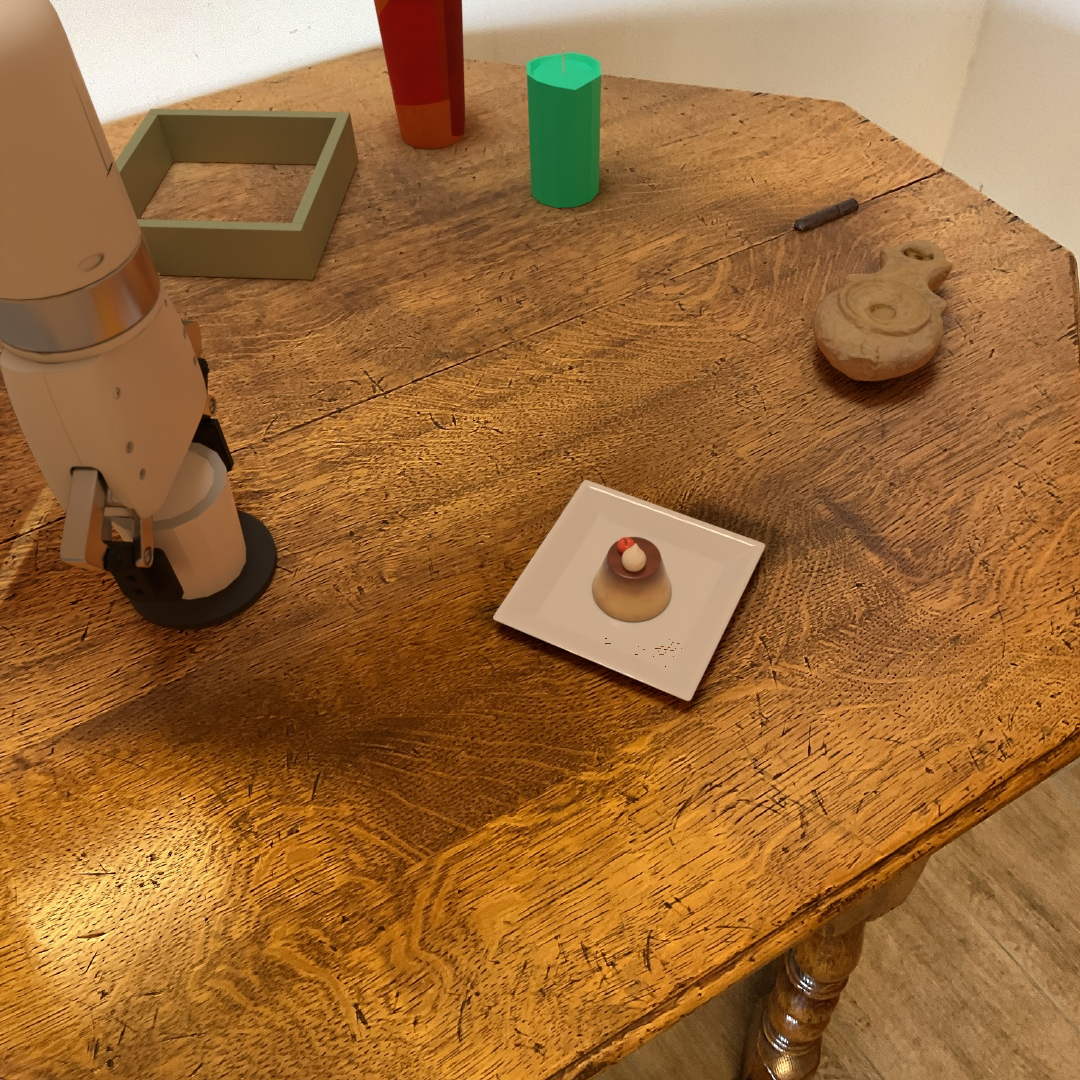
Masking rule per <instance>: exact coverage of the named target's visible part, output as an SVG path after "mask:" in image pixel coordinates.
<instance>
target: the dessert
mask: <svg viewBox="0 0 1080 1080" xmlns="http://www.w3.org/2000/svg"><path fill="white" fill-rule="evenodd" d="M765 548H766V544H765V543H764V542H761V541H758V540H755V539H753V538H750V537H748V536H744V535H742V534H738V533H737V532H734V531H730V530H727V529H725V528H722V527H719V526H717V525H714V524H711V523H709V522H705V521H703V520H699V519H697V518H694V517H692V516H689V515H687V514H683V513H680V512H677V511H674V510H672V509H670V508H666V507H664V506H660V505H658V504H655V503H653V502H650V501H647V500H644V499H641V498H639V497H636V496H633V495H631V494H627V493H626V492H621V491H619V490H616V489H614V488H611V487H608V486H606V485H602V484H600V483H597V482H594V481H591V480H589V479H584V480H583V481H582V482H581V484H580V486H579V487H578V488H577V490H576V491H575V493H574V494H573V495H572V498H571V499H570V500H569V502H568V504H567V505H566V506H565V508H564V509H563V511H562V512H561V514H560V515H559V516H558V518H557V520H556V521H555V523H554V524H553V526H552V527H551V529H550V530H549V532H548V534H547V535H546V536H545V538H544V539H543V541H542V542H541V544H540V545H539V546H538V548H537V550H536V552H534V554H533V556H532V557H531V559H530V560H529V562H528V564H527V565H526V566H525V568H524V569H523V571H522V572H521V574H520V576H519V577H518V578H517V580H516V582H515V583H514V585H513V586H512V587H511V588H510V590H509V592H508V594H507V595H506V597H505V598H504V600H503V601H502V603H500V606H499V607H498V609H497V610H496V612H495V613H494V615H493V616H492V619H493V620H494V621H496V622H498V623H501V624H503V625H506V626H508V627H511V628H513V629H515V630H517V631H520V632H522V633H525V634H527V635H529V636H532V637H534V638H536V639H539V640H541V641H544V642H545V643H549V644H550V645H553V646H556V647H558V648H559V649H563V650H565V651H568V652H570V653H572V654H574V655H576V656H580V657H582V658H584V659H586V660H588V661H591V662H594V663H596V664H597V665H601V666H603V667H605V668H608V669H610V670H613V671H615V672H618V673H619V674H622V675H624V676H626V677H629V678H631V679H634V680H637V681H639V682H641V683H643V684H646V685H648V686H651V687H653V688H655V689H657V690H659V691H660V690H661V691H662V692H664V693H667V694H669V695H672V696H675V697H676V698H679V699H682V700H684V701H686V702H690V701H691V700H692V699H693V696H694V694H695V692H696V690H697V688H698V687H699V684H700V682H701V680H702V678H703V676H704V674H705V671H706V670H707V668H708V665H709V664H710V662H711V659H712V658H713V655H714V653H715V651H716V649H717V648H718V645H719V643H720V641H721V639H722V636H723V635H724V632H725V631H726V628H727V626H728V624H729V623H730V620H731V618H732V616H733V614H734V612H735V609H736V608H737V606H738V604H739V602H740V599H741V597H742V595H743V593H744V591H745V589H746V587H747V585H748V583H749V581H750V579H751V577H752V576H753V572H754V571H755V569H756V566H757V564H758V563H759V561H760V559H761V557H762V554H763V552H764V550H765ZM605 638H607V639H605ZM669 639H670V640H669ZM672 642H674V643H672ZM605 643H611V644H605ZM677 643H680V644H677ZM671 644H672V645H671ZM638 646H639V647H638ZM661 646H664V647H661ZM668 647H670V648H668ZM655 648H661V649H655ZM675 648H676V649H675ZM681 648H682V649H681ZM643 649H645V650H643ZM664 649H668V650H664ZM670 650H674V651H670ZM658 651H659V652H658ZM665 652H666V653H665ZM635 654H638V655H635ZM659 654H664V655H659ZM653 656H654V657H653ZM673 656H674V657H673ZM665 666H666V667H665Z"/></svg>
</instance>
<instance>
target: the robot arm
mask: <svg viewBox="0 0 1080 1080" xmlns="http://www.w3.org/2000/svg"><path fill="white" fill-rule="evenodd" d="M68 37H69V36H68V34H67V32H66V30H65V27H64V25H63V23H62V21H61V19H60V16H59V14H58V12H57V10H56V8H55V6H54V5H53V4H52V2H51V1H50V0H0V345H1V346H2V350H1V353H0V370H1V376H2V378H3V382H4V385H5V389H6V392H7V394H8V399H9V401H10V404H11V407H12V410H13V412H14V414H15V417H16V420H17V422H18V425H19V427H20V429H21V431H22V434H23V436H24V437H25V440H26V443H27V445H28V447H29V449H30V451H31V454H32V455H33V458H34V460H35V462H36V464H37V466H38V468H39V470H40V472H41V474H42V475H43V478H44V480H45V481H46V483H47V485H48V487H49V490H50V491H51V492H52V495H53V497H54V498H55V499H56V501H57V503H58V504H59V506H60V507H61V509H62V510H63V511H64V512H65V517H64V518H65V519H64V525H63V529H62V536H61V542H60V548H59V557H60V560H61V561H62V562H63V563H65V564H67V565H69V566H74V567H76V568H78V569H81V570H82V571H83V572H84V571H85V572H100V573H101V572H104V573H110V574H111V576H112V578H113V579H114V581H115V583H116V585H117V586H118V587H119V589H120V591H121V593H122V594H123V597H125V598H126V599H128V600H129V599H131V600H134V601H136V602H140V603H154V602H156V601H159V602H180V601H181V599H182V597H183V594H184V591H183V588H182V586H181V584H180V582H179V580H178V578H177V576H176V574H175V572H174V570H173V568H172V566H171V564H170V562H169V560H168V558H167V556H166V554H165V552H164V551H163V550H162V549H160V548H154V539H153V515H154V514H155V513H156V512H157V511H158V510H159V509H160V508H161V506H162V505H163V503H164V501H165V500H166V498H167V496H168V494H169V491H170V489H171V487H172V485H173V483H174V480H175V478H176V476H177V474H178V471H179V469H180V467H181V465H182V462H183V460H184V458H185V455H186V453H187V451H188V448H189V446H190V444H191V442H193V443H200V444H202V445H204V446H206V447H208V448H209V449H211V450H213V451H215V452H217V454H218V455H219V457H220V459H221V460H222V462H223V463H224V465H225V466H226V470H227V474H228V473H230V472H232V471H233V468H234V466H235V461H234V458H233V455H232V453H231V449H230V447H229V445H228V442H227V439H226V437H225V435H224V434H225V433H224V431H223V429H222V426H221V424H220V421H219V418H212V417H214V416H216V413H217V409H218V403H217V399H216V397H215V396H214V395H212V394H209V373H210V367H209V363H208V361H207V359H206V358H204V357H202V354H204V351H203V343H202V335H201V325H200V323H199V322H198V321H197V320H181V318H180V315H179V313H178V311H177V310H176V309H177V308H176V307H175V305H174V303H173V301H172V299H171V298H170V296H169V294H168V291H167V290H166V288H165V286H164V284H163V283H162V281H161V278H160V275H159V273H157V270H156V267H155V265H154V262H153V260H152V257H151V254H150V252H149V249H148V247H147V244H146V241H145V239H144V236H143V233H142V231H141V228H140V226H139V224H138V220H137V218H136V215H135V212H134V210H133V207H132V205H131V202H130V199H129V197H128V194H127V191H126V189H125V186H124V184H123V181H122V178H121V176H120V173H119V170H118V168H117V165H116V163H115V161H116V159H115V157H114V155H113V152H112V150H111V147H110V145H109V142H108V140H107V137H106V134H105V131H104V129H103V126H102V124H101V120H100V119H99V116H98V113H97V111H96V108H95V105H94V103H93V100H92V98H91V97H92V96H91V95H90V92H89V90H88V87H87V84H86V81H85V79H84V77H83V74H82V71H81V69H80V66H79V64H78V60H77V58H76V56H75V53H74V51H73V48H72V45H71V42H70V39H69V38H68ZM108 488H109V489H110V491H111V493H112V495H113V496H114V497H115V498H116V499H117V500H118V501H119V502H108ZM111 517H119V518H132V535H133V542H128V541H124V540H113V525H112V522H111Z"/></svg>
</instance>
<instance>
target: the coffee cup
mask: <svg viewBox="0 0 1080 1080" xmlns="http://www.w3.org/2000/svg"><path fill="white" fill-rule="evenodd" d="M373 4H374V9H375V14H376V19H377V23H378V29H379V34H380V38H381V44H382V50H383V54H384V60H385V64H386V68H387V73H388V79H389V83H390V89H391V94H392V98H393V103H394V108H395V113H396V117H397V123H398V127H399V130H400V135H401V138H402V139H403V141H404V142H405V143H406V144H408V145H410V146H412V147H414V148H417V149H425V150H435V149H442V148H446V147H450V146H452V145H454V144H456V143H457V142H459V141H460V140H461V139H462V138H463V137H464V135H465V132H466V98H465V97H466V96H465V95H466V94H465V93H466V91H465V90H466V89H465V58H464V57H465V55H464V52H465V51H464V23H463V19H464V18H463V17H464V16H463V0H373Z"/></svg>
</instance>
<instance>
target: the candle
mask: <svg viewBox="0 0 1080 1080" xmlns="http://www.w3.org/2000/svg"><path fill="white" fill-rule="evenodd" d="M526 86H527V89H526V90H527V109H528V110H527V111H528V113H527V114H528V137H529V138H528V139H529V163H530V164H529V165H530V166H529V167H530V189H531V190H530V191H531V196H532V197H533V198H534V199H535V200H537V201H538V203H540V204H541V205H544V206H549V207H552V208H555V209H563V208H564V209H565V208H566V209H567V208H578V207H579V206H583V205H585V204H588V203H591V202H592V200H594V199H595V198H596V196H597V195H598V194H599V193H600V157H601V156H600V155H601V154H600V152H601V151H600V149H601V148H600V147H601V146H600V145H601V101H602V100H601V97H602V96H601V94H602V69H601V61H600V60H598V59H597V58H594V57H593V56H591V55H590V54H584V53H578V52H573V51H570V52H565V47H562V53H555V54H547V55H544V56H538V57H535V58H533V59H531V60H529V61H527V62H526Z"/></svg>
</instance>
